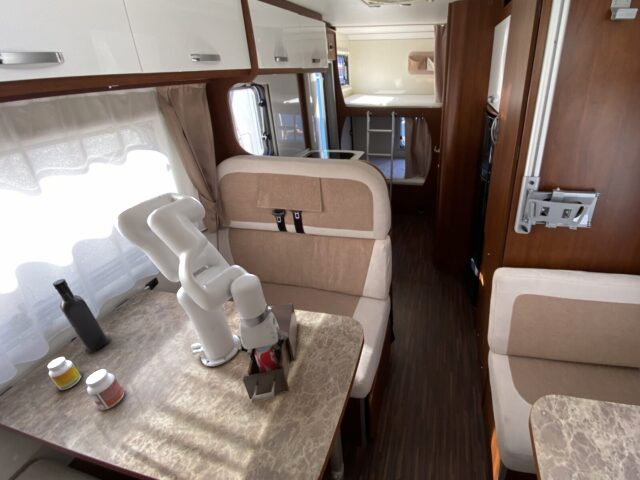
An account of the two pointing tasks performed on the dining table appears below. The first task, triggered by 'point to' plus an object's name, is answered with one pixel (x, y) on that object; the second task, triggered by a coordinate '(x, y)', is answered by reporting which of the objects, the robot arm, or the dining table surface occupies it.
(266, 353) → the beverage can
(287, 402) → the dining table surface
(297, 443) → the dining table surface
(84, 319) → the wine bottle
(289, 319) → the cabinet
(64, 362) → the supplement bottle
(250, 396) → the drawer
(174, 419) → the dining table surface
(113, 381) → the pill bottle
